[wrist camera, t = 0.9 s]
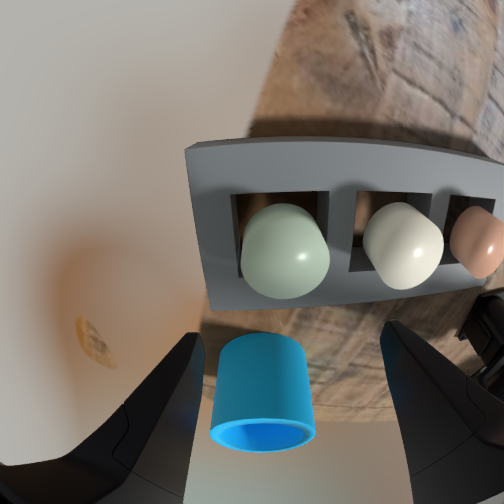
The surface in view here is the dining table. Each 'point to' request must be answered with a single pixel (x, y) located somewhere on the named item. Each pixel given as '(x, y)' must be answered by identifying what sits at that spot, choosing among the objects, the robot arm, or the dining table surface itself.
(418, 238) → the cream button
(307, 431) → the mug
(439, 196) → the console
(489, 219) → the terracotta button
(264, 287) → the sage button
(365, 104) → the dining table surface
